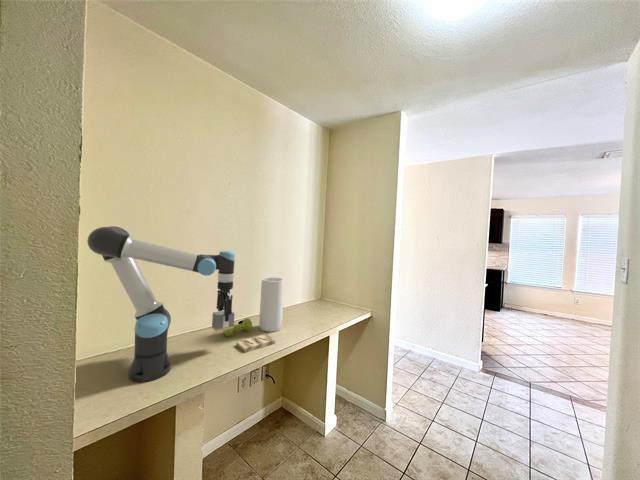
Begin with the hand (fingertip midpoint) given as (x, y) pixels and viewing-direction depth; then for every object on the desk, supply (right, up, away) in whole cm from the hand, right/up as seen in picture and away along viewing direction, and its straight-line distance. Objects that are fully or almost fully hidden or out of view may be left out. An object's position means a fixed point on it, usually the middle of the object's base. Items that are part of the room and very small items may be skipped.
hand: (222, 325), depth 137 cm
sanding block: (0, -2, 0) cm, 1 cm away
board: (+16, -13, +7) cm, 21 cm away
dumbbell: (+1, -12, +22) cm, 25 cm away
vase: (+19, -12, +32) cm, 39 cm away
